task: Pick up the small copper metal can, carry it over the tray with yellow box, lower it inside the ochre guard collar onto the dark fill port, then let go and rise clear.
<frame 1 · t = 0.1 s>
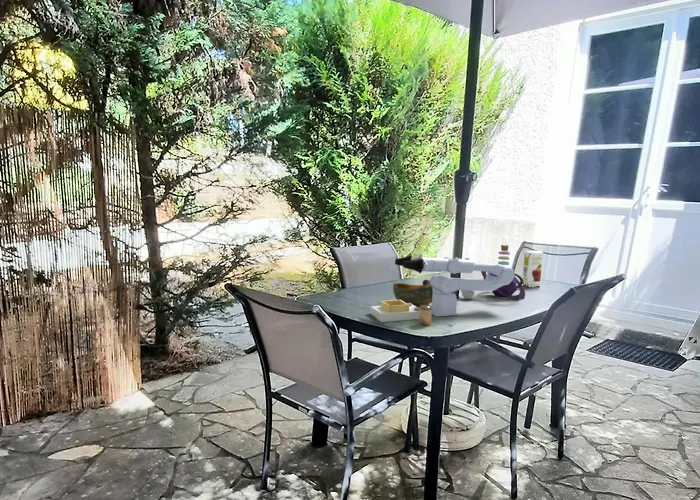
hand: (399, 263, 176), 22 cm above the table, tool horizontal, fingers open, 7 cm apart
pottery mug: (432, 293, 223), on the table
juice carton: (531, 286, 243), on the table
decorative bottle: (501, 297, 217), on the table
green brown bowl: (414, 305, 199), on the table
tray with yellow box: (396, 316, 180), on the table
copper can: (425, 324, 170), on the table
white bumpy ball: (467, 299, 211), on the table
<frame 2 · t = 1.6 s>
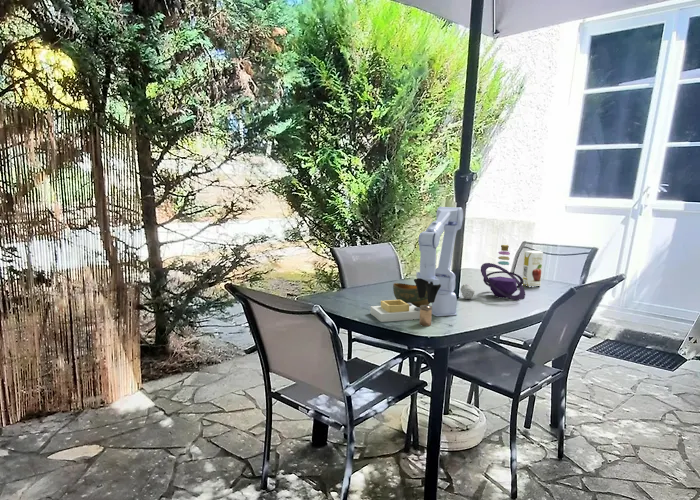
hand: (426, 300, 168), 9 cm above the table, tool pointing down, fingers open, 7 cm apart
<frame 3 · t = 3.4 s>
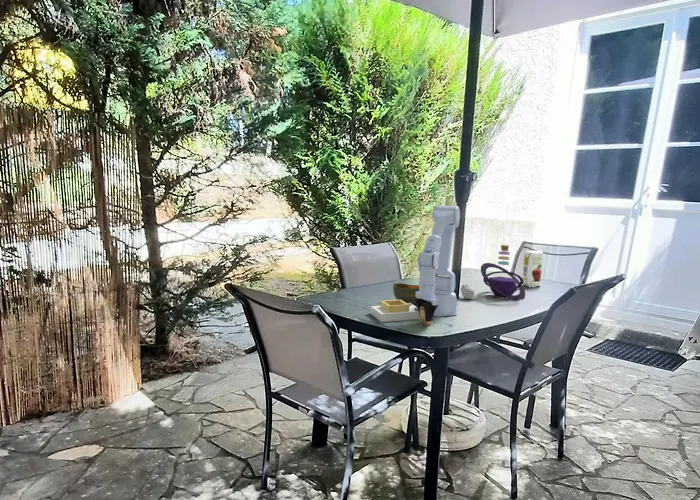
hand: (425, 319, 169), 2 cm above the table, tool pointing down, fingers closed on copper can, 4 cm apart
copper can: (425, 324, 170), on the table, touching gripper
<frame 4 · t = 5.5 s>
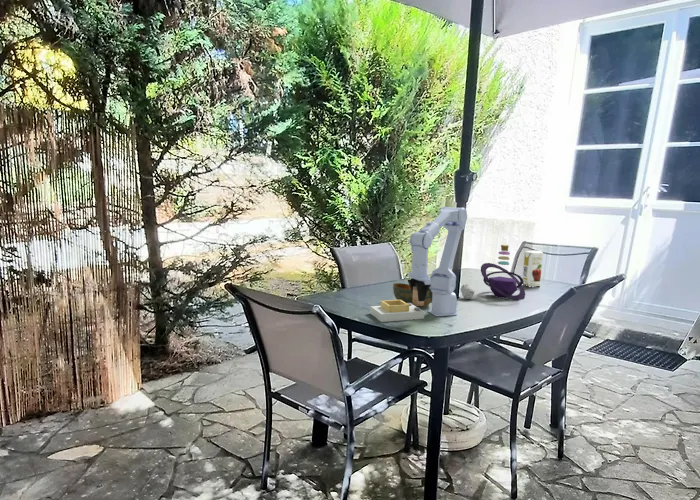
hand: (418, 299, 171), 9 cm above the table, tool pointing down, fingers closed on copper can, 4 cm apart
copper can: (418, 304, 171), point 7 cm above the table, touching gripper
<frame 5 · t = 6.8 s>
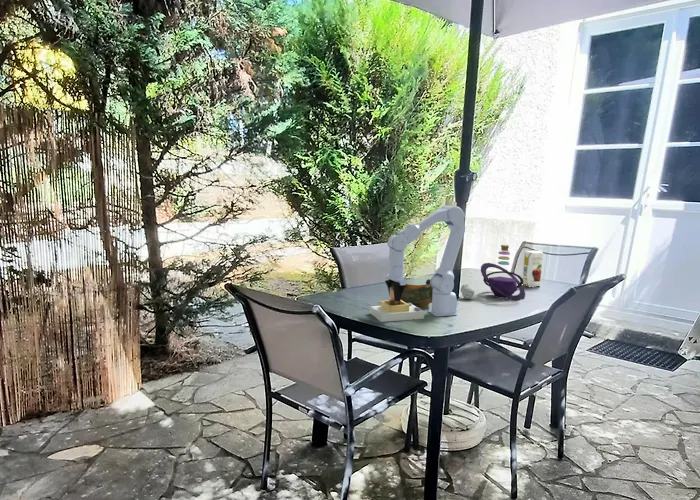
hand: (394, 299, 179), 7 cm above the table, tool pointing down, fingers closed on copper can, 4 cm apart
copper can: (394, 304, 179), point 5 cm above the table, touching gripper
when the fingers open (6 cm above the table, at t = 7.8 s): copper can drops 1 cm, resting on tray with yellow box.
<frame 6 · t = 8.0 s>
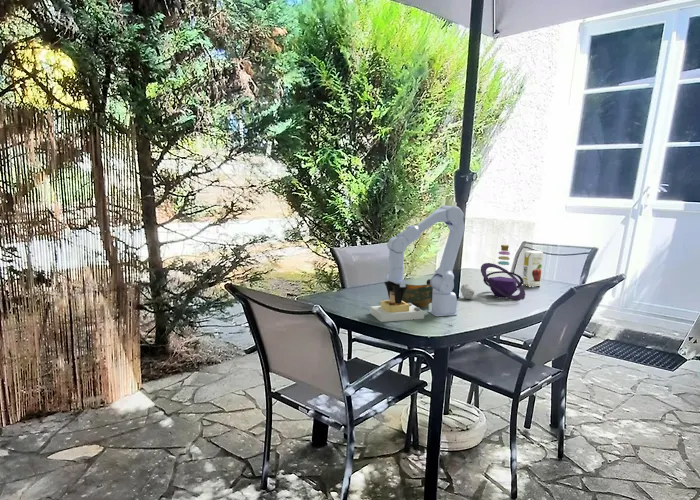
hand: (394, 301, 179), 6 cm above the table, tool pointing down, fingers open, 6 cm apart
copper can: (394, 308, 179), point 3 cm above the table, touching tray with yellow box
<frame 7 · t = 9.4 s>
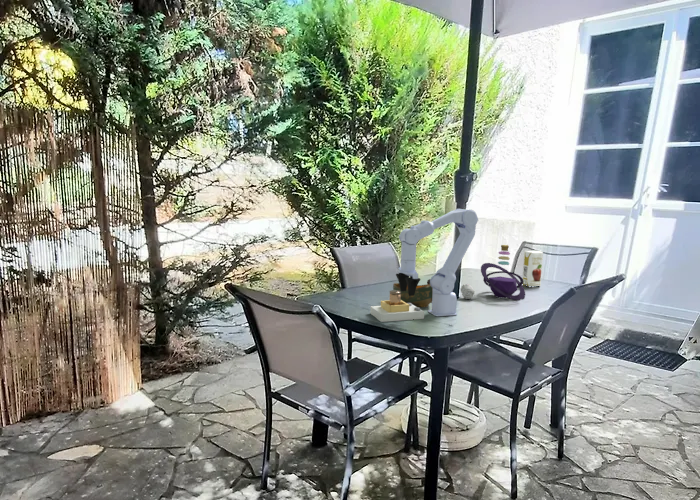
hand: (407, 293, 179), 9 cm above the table, tool pointing down, fingers open, 7 cm apart
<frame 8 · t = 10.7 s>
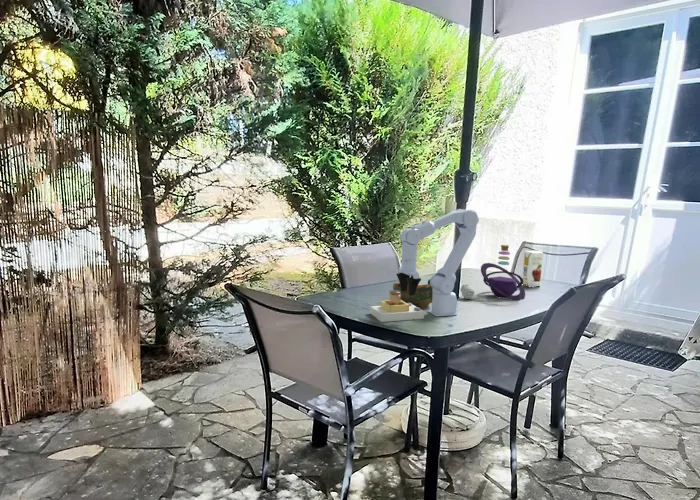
hand: (407, 293, 179), 9 cm above the table, tool pointing down, fingers open, 7 cm apart
at the end: copper can 0.0 cm from the target spot on the tray with yellow box, point 3.1 cm above the tray with yellow box's base; copper can tilted 1°; the gripper is holding nothing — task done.
